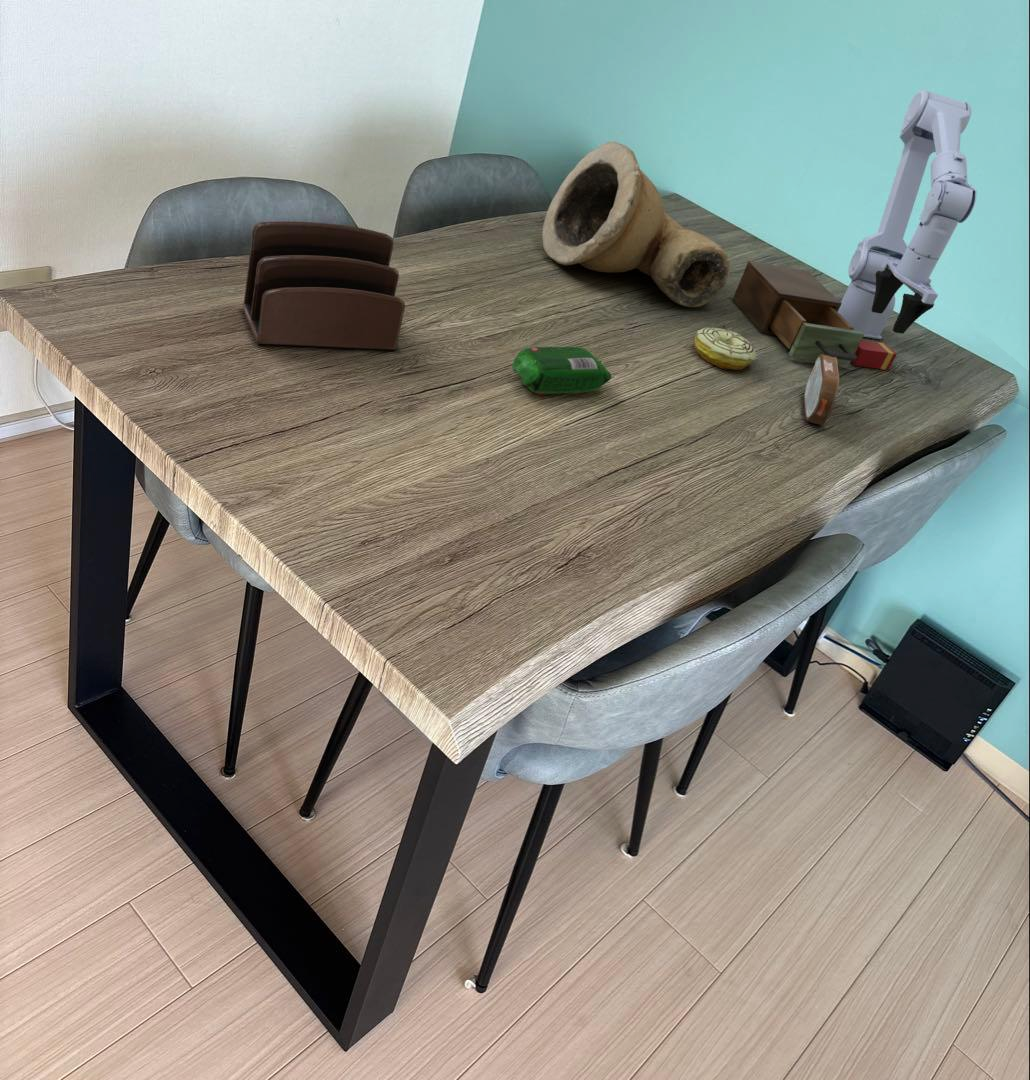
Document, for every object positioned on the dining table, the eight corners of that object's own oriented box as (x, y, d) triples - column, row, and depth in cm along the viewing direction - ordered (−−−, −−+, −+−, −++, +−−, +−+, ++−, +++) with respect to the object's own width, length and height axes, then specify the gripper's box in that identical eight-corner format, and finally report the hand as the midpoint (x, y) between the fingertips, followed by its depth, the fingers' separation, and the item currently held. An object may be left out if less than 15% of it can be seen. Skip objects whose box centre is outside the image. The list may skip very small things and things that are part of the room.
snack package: (613, 398, 152) (624, 367, 149) (523, 399, 144) (533, 367, 141) (589, 373, 156) (600, 342, 153) (501, 373, 148) (510, 341, 145)
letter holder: (242, 309, 143) (253, 213, 135) (377, 318, 152) (395, 227, 144) (256, 345, 136) (268, 246, 128) (396, 352, 145) (416, 259, 137)
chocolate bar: (877, 359, 193) (886, 343, 191) (888, 370, 190) (897, 354, 188) (843, 354, 190) (851, 338, 188) (853, 365, 188) (862, 349, 186)
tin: (821, 435, 160) (845, 389, 155) (802, 428, 160) (825, 382, 156) (817, 394, 173) (839, 350, 168) (799, 388, 173) (820, 344, 168)
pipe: (697, 353, 195) (596, 303, 175) (615, 282, 213) (515, 229, 192) (773, 247, 187) (676, 182, 166) (681, 182, 205) (583, 116, 184)
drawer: (861, 379, 181) (878, 347, 177) (803, 371, 177) (819, 339, 173) (816, 332, 194) (831, 301, 190) (761, 323, 189) (775, 292, 186)
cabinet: (822, 342, 193) (841, 303, 188) (761, 333, 188) (779, 293, 183) (791, 308, 203) (808, 271, 198) (732, 299, 198) (748, 260, 193)
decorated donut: (762, 369, 175) (771, 349, 173) (724, 377, 168) (733, 357, 166) (717, 339, 180) (725, 320, 178) (679, 346, 173) (687, 326, 171)
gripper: (965, 273, 174) (926, 344, 182) (919, 238, 184) (884, 306, 192) (932, 267, 171) (894, 339, 179) (888, 232, 182) (853, 301, 190)
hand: (887, 322), depth 186 cm, fingers open, 7 cm apart
